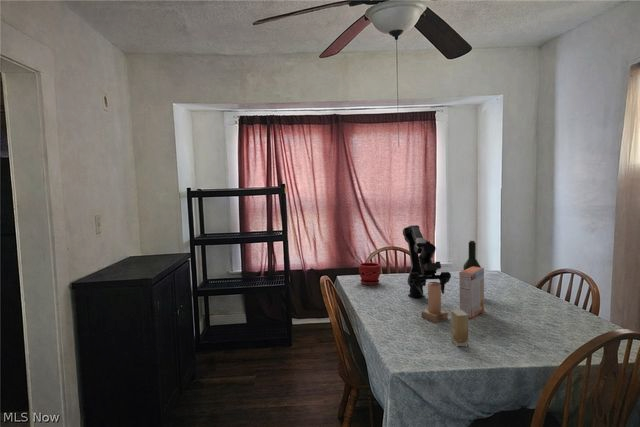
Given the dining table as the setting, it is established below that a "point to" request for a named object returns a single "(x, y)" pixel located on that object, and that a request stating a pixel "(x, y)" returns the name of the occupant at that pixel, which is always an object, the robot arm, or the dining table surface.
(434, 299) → the tan lidded canister
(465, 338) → the skincare box
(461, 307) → the cracker box
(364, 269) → the plant pot
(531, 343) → the dining table surface
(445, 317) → the plinth
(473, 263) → the wine bottle
